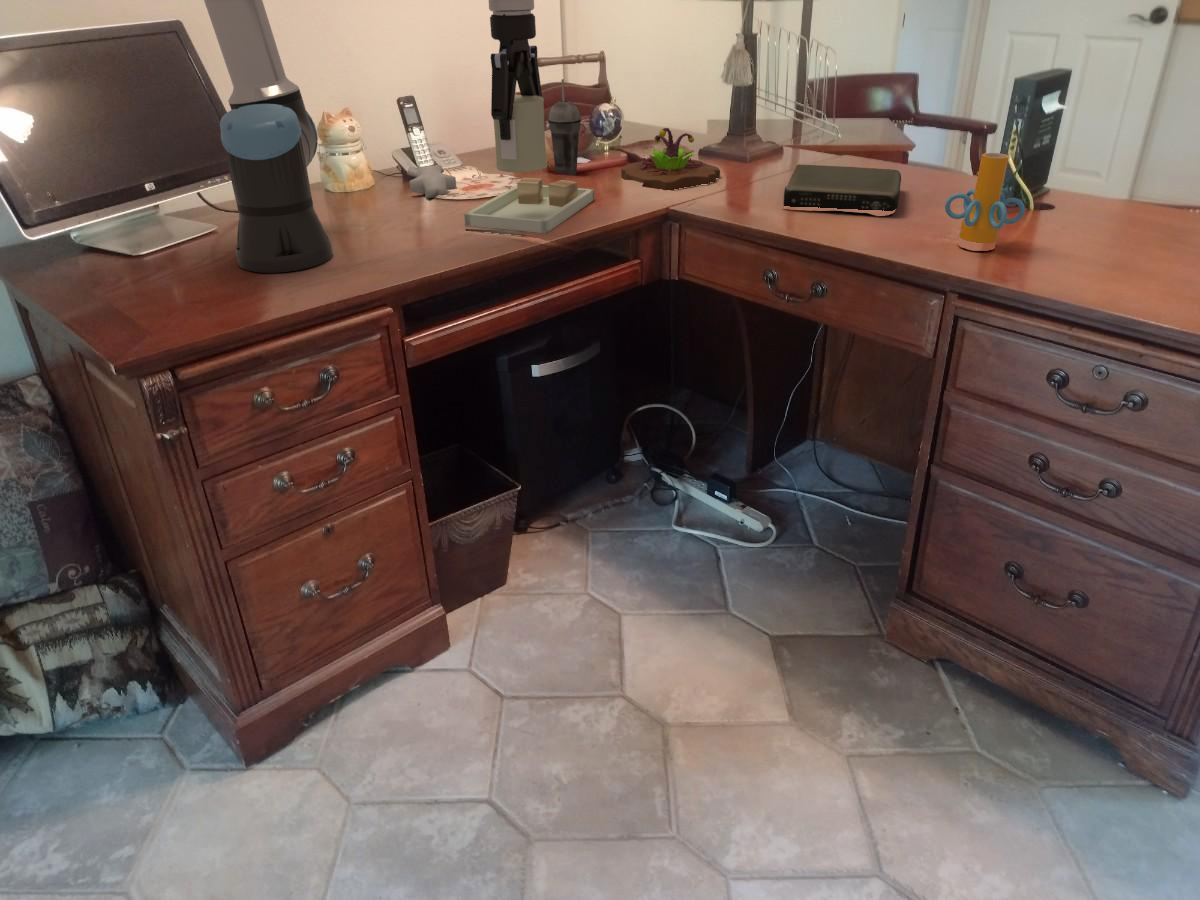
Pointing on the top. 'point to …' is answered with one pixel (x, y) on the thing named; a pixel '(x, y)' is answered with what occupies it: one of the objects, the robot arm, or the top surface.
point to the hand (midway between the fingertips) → (520, 152)
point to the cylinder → (986, 202)
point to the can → (525, 136)
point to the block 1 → (530, 191)
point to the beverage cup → (565, 135)
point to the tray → (524, 213)
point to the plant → (670, 167)
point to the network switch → (843, 188)
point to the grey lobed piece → (430, 181)
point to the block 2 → (562, 192)
